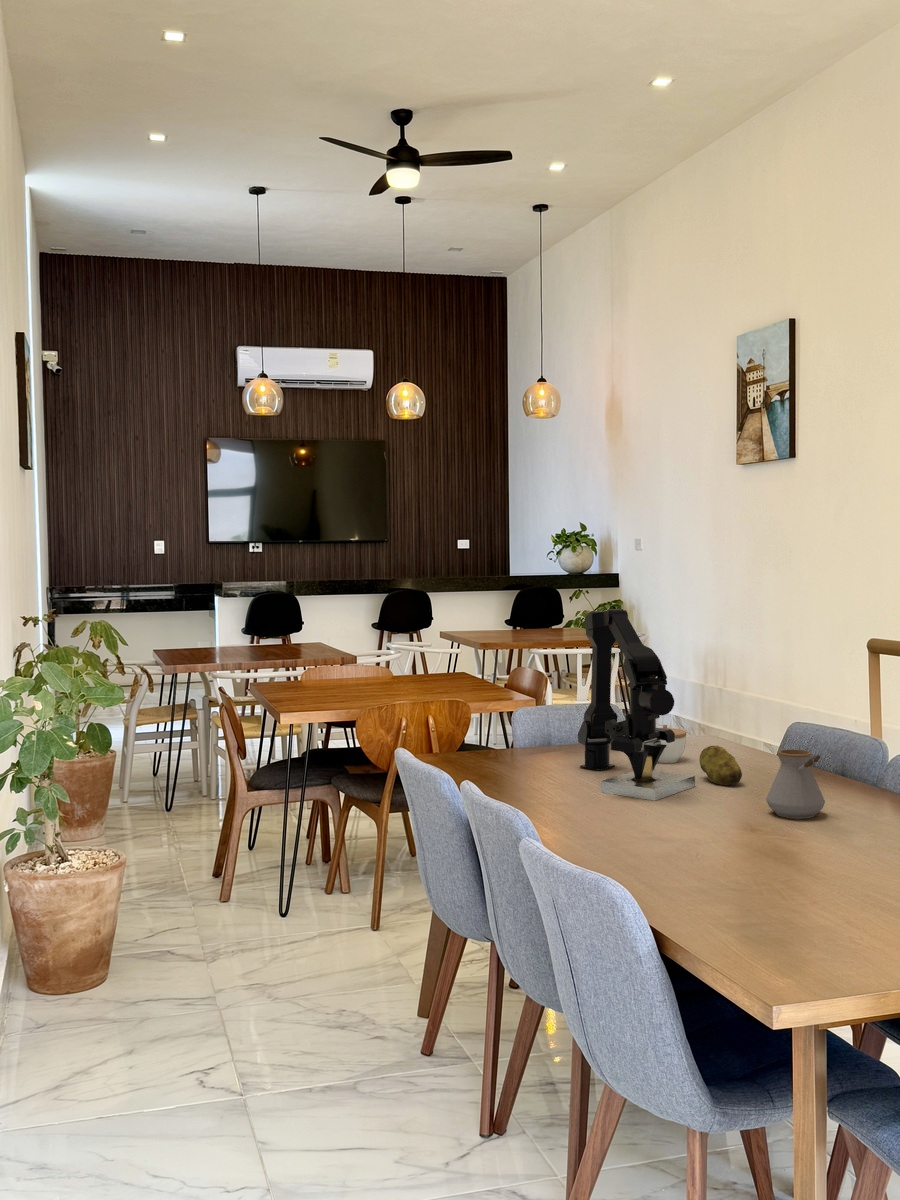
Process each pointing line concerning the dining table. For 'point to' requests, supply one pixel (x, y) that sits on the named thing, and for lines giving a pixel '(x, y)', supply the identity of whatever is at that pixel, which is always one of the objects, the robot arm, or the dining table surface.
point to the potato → (720, 766)
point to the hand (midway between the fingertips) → (643, 777)
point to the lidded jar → (673, 747)
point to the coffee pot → (796, 786)
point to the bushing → (646, 771)
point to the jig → (648, 785)
